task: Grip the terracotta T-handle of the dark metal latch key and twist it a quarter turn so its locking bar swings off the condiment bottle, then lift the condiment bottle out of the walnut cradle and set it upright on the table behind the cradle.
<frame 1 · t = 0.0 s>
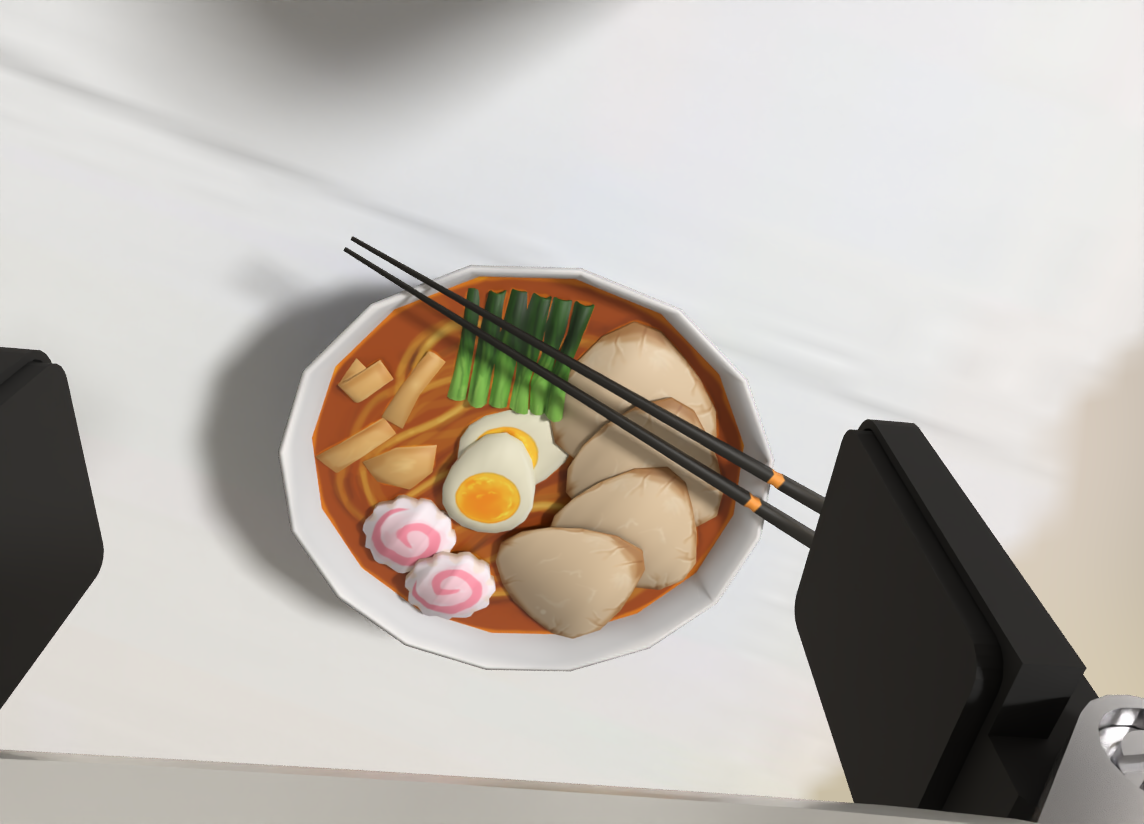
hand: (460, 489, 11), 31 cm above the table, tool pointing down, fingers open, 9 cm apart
ramen bowl: (533, 416, 46), on the table
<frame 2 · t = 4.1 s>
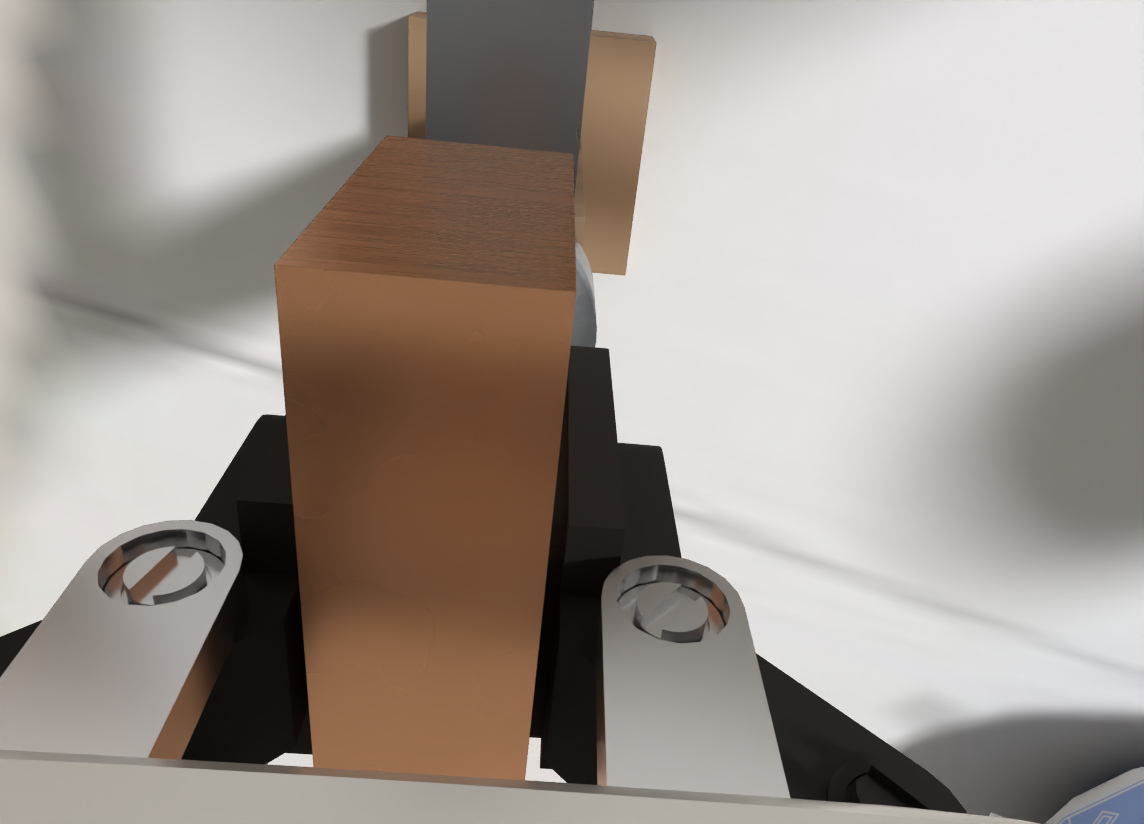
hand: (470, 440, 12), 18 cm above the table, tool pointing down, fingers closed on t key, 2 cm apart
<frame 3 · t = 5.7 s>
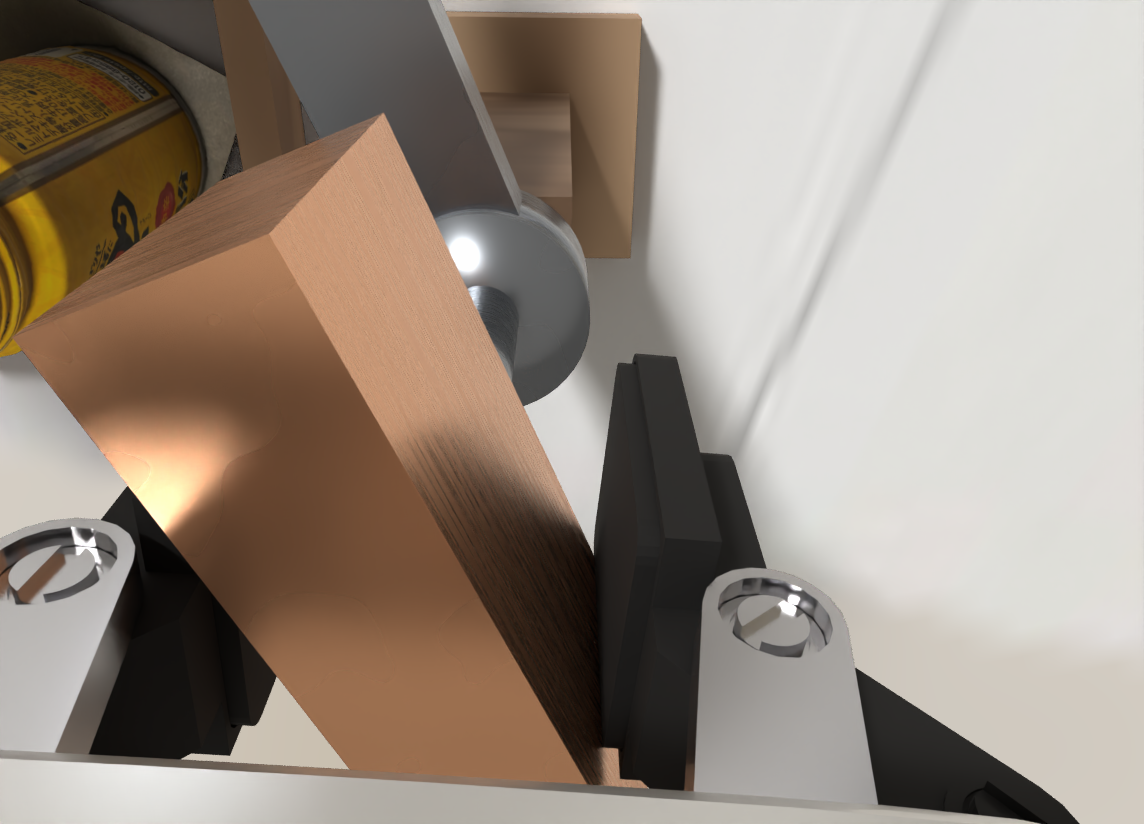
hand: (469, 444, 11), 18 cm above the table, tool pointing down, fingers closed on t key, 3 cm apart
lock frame: (281, 132, 27), on the table
condiment: (87, 126, 27), resting in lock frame
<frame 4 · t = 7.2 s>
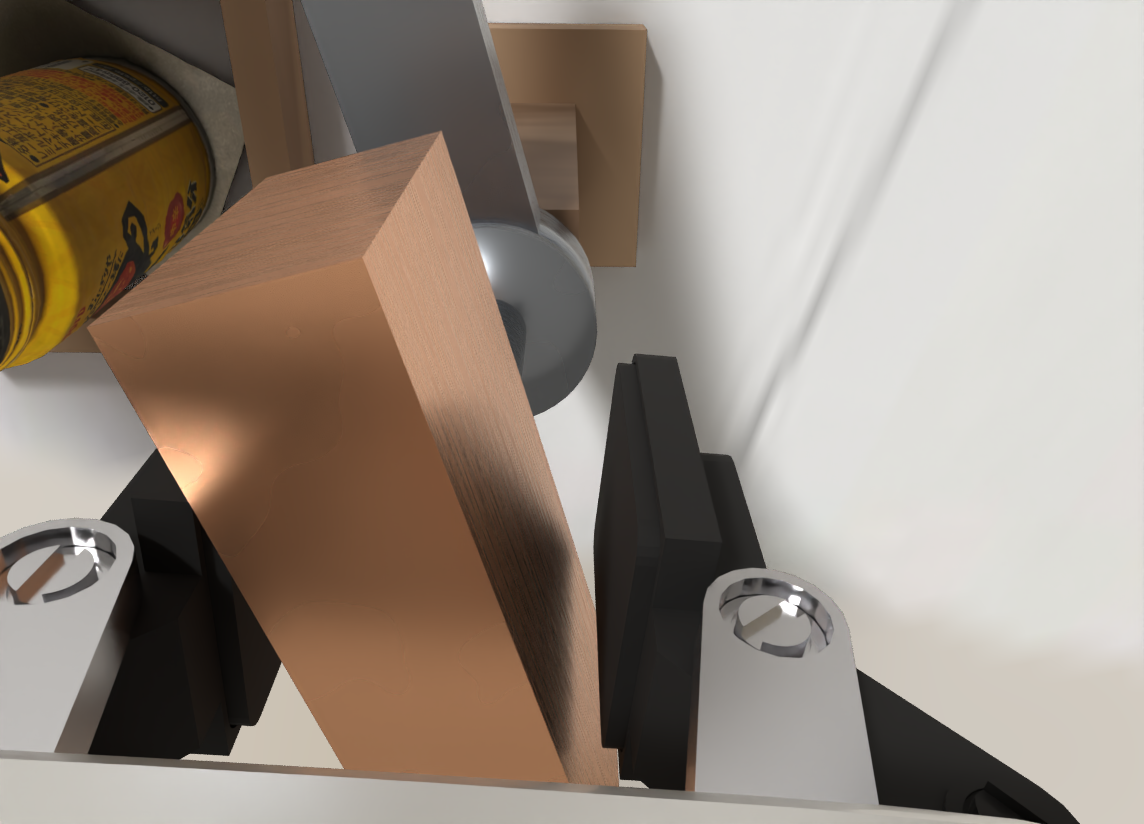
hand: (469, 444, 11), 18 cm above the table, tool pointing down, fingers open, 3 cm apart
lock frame: (289, 142, 27), on the table
condiment: (97, 137, 27), resting in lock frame
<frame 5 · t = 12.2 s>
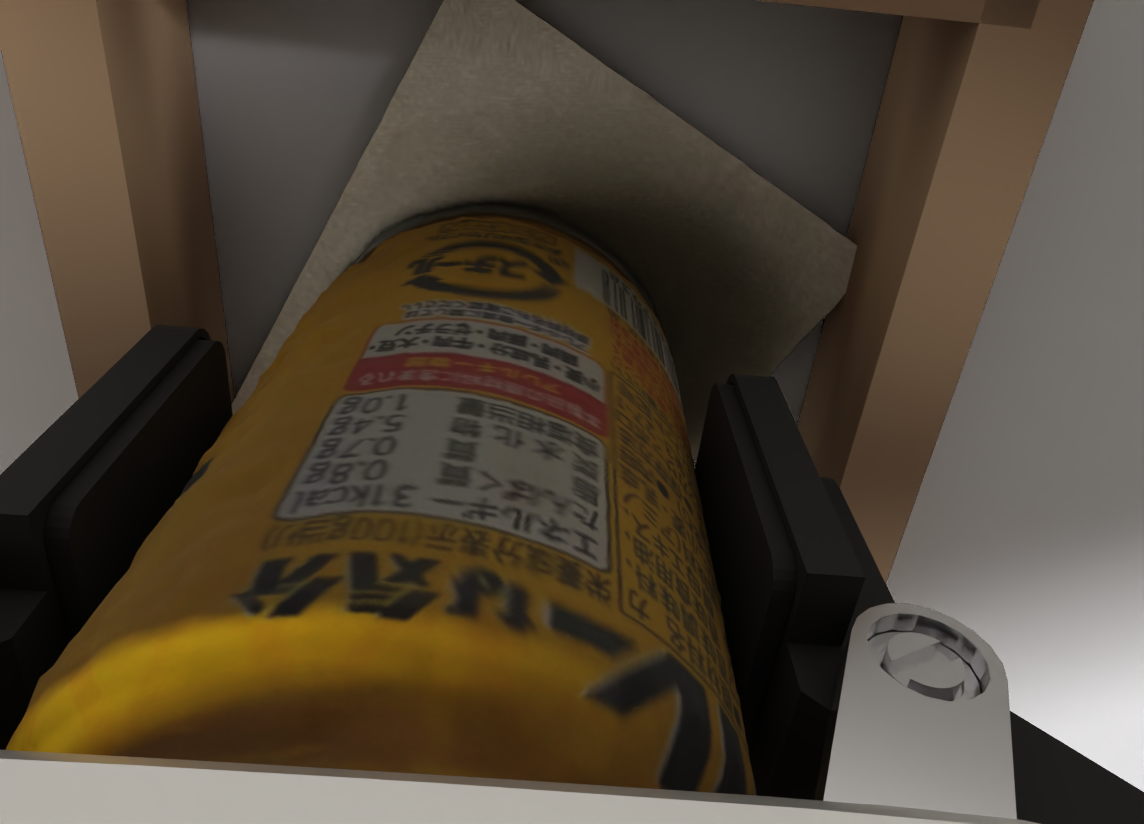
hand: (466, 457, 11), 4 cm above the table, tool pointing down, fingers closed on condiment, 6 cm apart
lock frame: (504, 601, 17), on the table
condiment: (529, 333, 14), resting in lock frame, touching gripper
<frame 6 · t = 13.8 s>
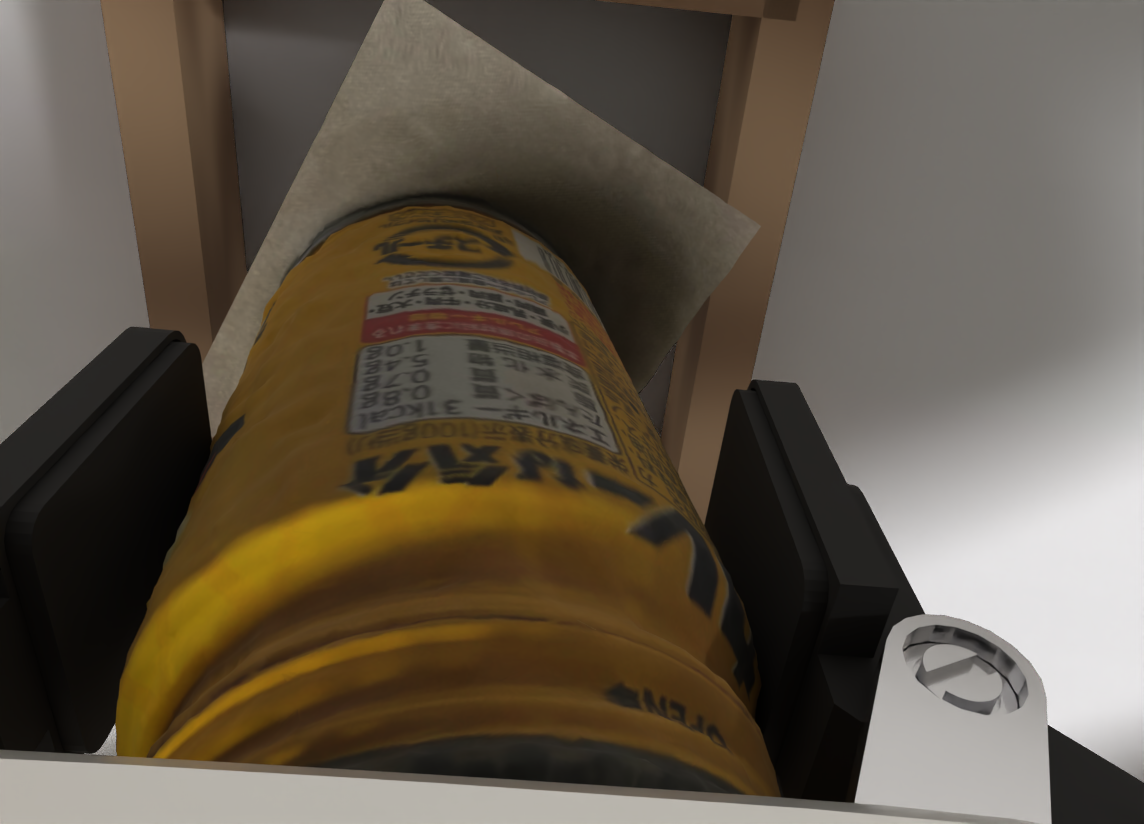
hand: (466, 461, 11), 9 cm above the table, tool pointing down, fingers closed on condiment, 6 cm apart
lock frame: (461, 475, 22), on the table
condiment: (465, 314, 16), point 4 cm above the table, touching gripper
when the fingers open (6 cm above the table, at t = 19.2 s): condiment stays where it is, on the table.
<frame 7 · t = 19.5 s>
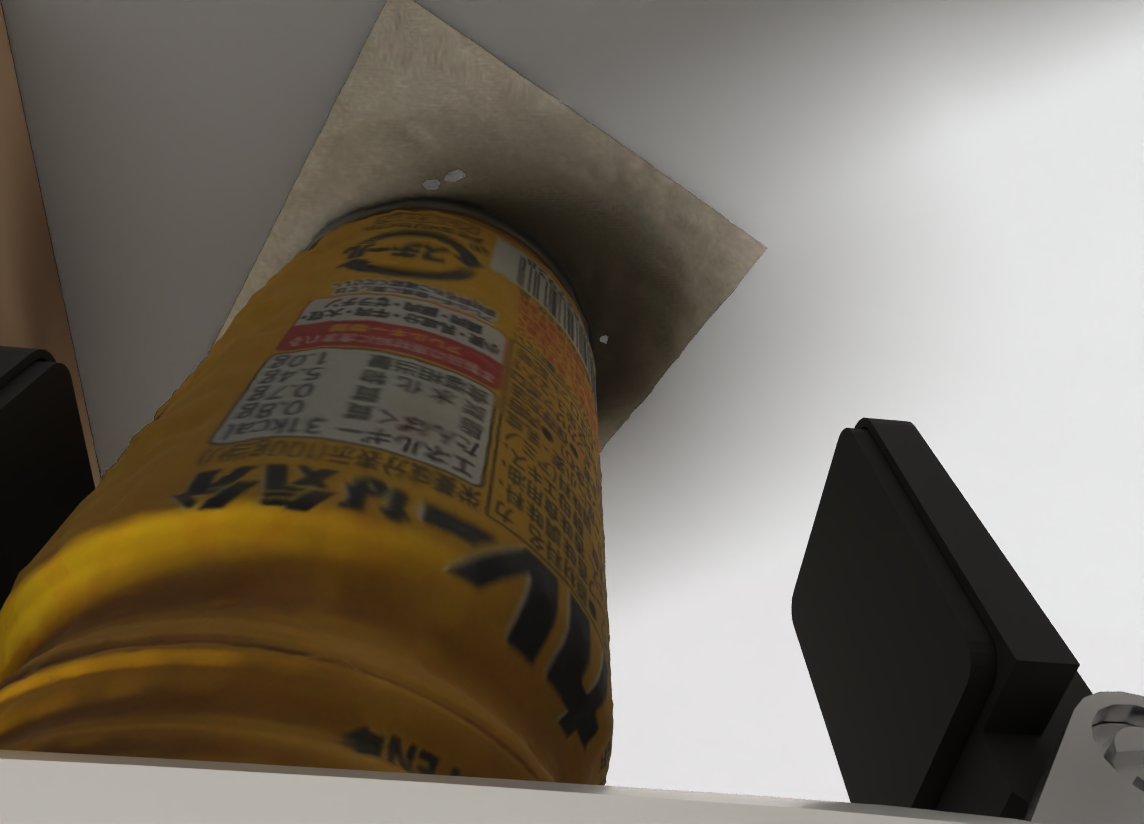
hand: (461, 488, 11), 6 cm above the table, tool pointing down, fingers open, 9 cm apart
condiment: (464, 316, 16), on the table
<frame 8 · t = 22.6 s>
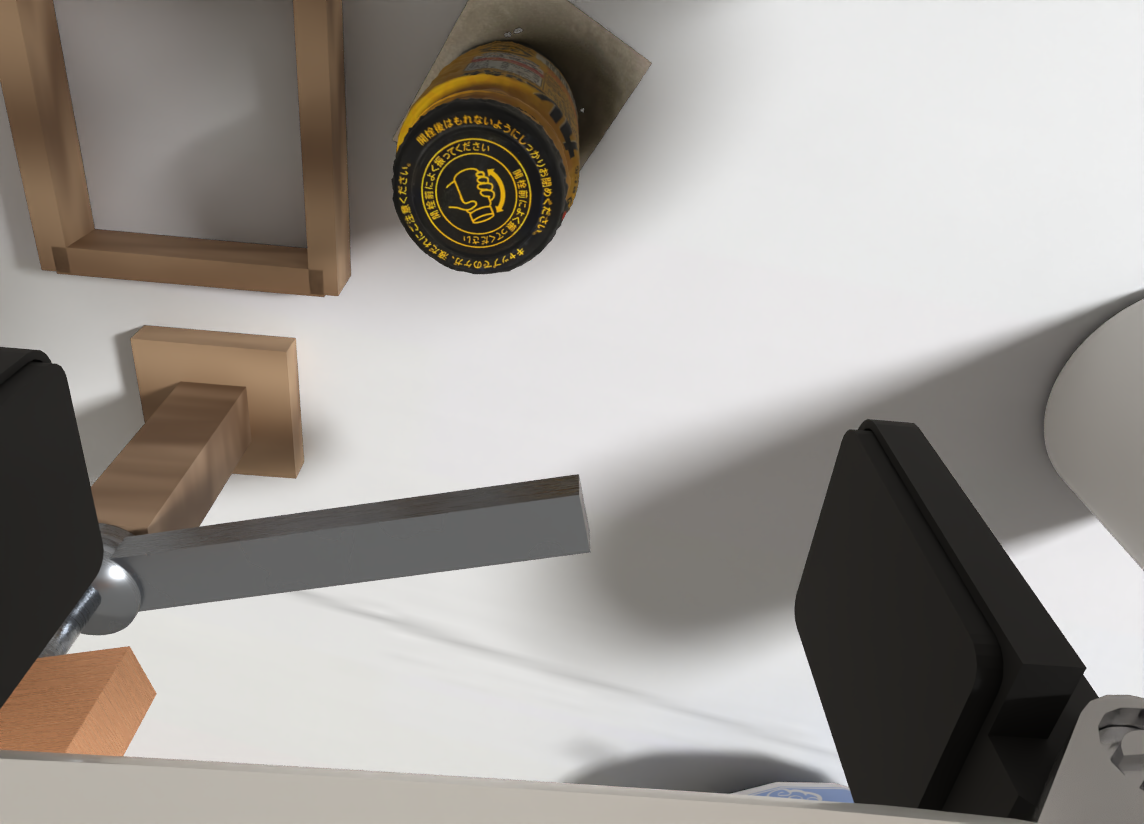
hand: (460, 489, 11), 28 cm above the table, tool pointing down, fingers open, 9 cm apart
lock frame: (210, 250, 38), on the table
t key: (240, 637, 26), point 18 cm above the table, hinge at -75.2°
ramen bowl: (775, 823, 59), on the table
condiment: (519, 100, 36), on the table
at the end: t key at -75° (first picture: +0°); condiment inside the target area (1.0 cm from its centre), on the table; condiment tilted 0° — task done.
